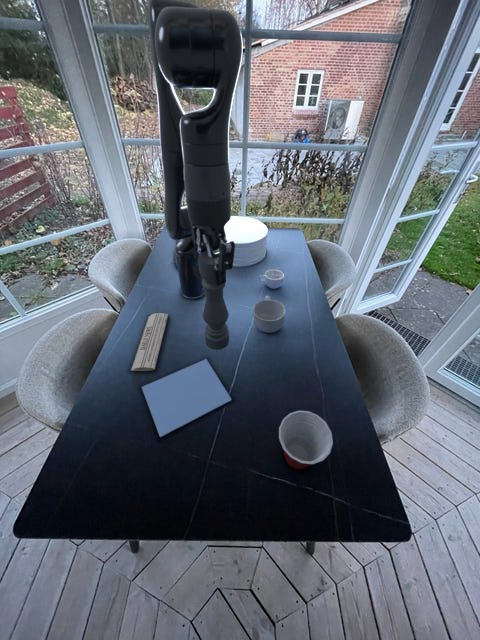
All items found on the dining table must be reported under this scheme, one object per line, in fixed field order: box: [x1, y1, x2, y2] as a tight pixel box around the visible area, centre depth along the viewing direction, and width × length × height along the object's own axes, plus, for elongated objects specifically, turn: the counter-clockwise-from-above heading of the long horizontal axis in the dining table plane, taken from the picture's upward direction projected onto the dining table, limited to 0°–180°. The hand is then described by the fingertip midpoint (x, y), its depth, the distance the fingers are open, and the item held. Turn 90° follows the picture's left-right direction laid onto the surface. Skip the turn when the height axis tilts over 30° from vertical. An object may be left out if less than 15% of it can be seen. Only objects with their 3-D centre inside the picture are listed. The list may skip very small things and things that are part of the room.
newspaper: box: [130, 312, 169, 372], centre depth 86 cm, size 24×7×2 cm, turn 1°
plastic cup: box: [278, 410, 334, 470], centre depth 58 cm, size 11×11×12 cm
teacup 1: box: [258, 269, 285, 290], centre depth 109 cm, size 10×8×5 cm
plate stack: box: [224, 216, 269, 268], centre depth 126 cm, size 28×28×12 cm
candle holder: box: [198, 250, 230, 351], centre depth 61 cm, size 6×6×25 cm
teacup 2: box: [252, 295, 287, 334], centre depth 91 cm, size 14×11×8 cm
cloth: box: [141, 358, 233, 438], centre depth 73 cm, size 16×20×1 cm
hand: (213, 275), depth 56 cm, fingers closed on candle holder, 5 cm apart
